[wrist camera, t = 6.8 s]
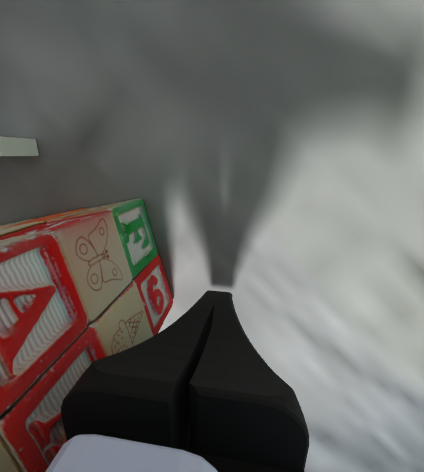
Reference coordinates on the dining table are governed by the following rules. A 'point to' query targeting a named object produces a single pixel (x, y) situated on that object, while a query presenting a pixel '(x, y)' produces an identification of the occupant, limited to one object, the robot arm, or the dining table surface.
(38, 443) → the stack of blocks
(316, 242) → the dining table surface
